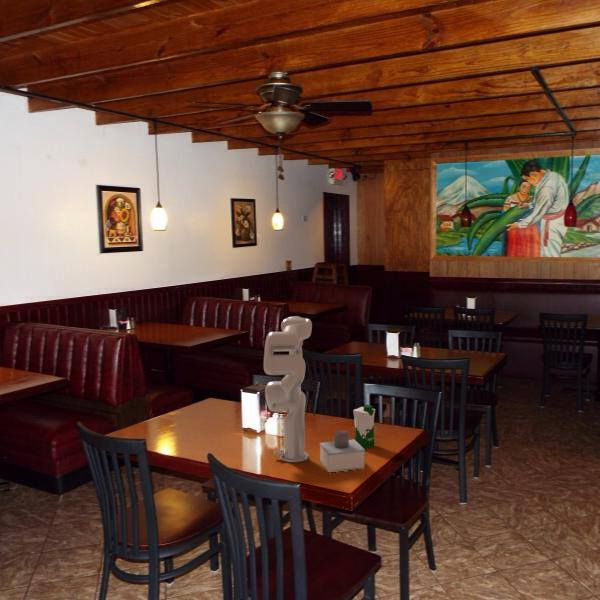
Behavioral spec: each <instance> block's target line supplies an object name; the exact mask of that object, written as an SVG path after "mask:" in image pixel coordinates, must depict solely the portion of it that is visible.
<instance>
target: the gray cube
mask: <svg viewBox="0 0 600 600" xmlns="http://www.w3.org/2000/svg"><path fill="white" fill-rule="evenodd" d="M333 432H334V433H333V441H334V447H336V448H340V449H344V448H348V447H349V440H350V437H349V431H347V430H336V431H333Z"/></svg>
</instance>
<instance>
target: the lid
mask: <svg viewBox="0 0 600 600" xmlns="http://www.w3.org/2000/svg"><path fill="white" fill-rule="evenodd" d="M318 445H319V447H320V446H321V447H322V448H323V449H324V451H325V452H326V453H327V454H328V455H337V454H347V453H356V452H364V453H365V451H366V449H364V448H363V447H362V446H361V445H359V444H358V443H357V442H356V441H355V438H354V439H353V438H352V439H349V447H348V448H344V449H340V448H336V447H334V440H333V441H324V442H319V444H318Z"/></svg>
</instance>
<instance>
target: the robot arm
mask: <svg viewBox="0 0 600 600" xmlns="http://www.w3.org/2000/svg"><path fill="white" fill-rule="evenodd" d="M312 328H313V324H312V321H311V319H310V318H307V317H305V318H304V317H301V316H297V315H295V316H294V315H293V316H289V317H287V318H284V319H283V321H282V322H281V324H280V329H281V331H269V332H268V334H267V335H266V338H265V342H264V343H265V344H264V352H263V353H264V355H263V370H264V373H265V374H266V375H269V376H284V377H283V378H282V379H281V380H279V381H278V380H277V381H276V380H274V381H269V382H268V383H267V384H266V386H265V389H264V396H265V397H264V398H265V401H266V404H267V408H268V409H269V411H271V412H288V413H287V414H286V415H285V417H284V419H283V447H282V449H280V450H278V449H277V450H273V454H274V456H277V457H280V459H281V460H282V461H283V462H287V463H293V464H294V463H302V462H305V461H307V460H308V459H309V454H308V453H307V452H306V448H305V445H306V443H305V442H306V441H305V439H306V438H305V409H306V400H307V399H306V398H307V397H306V394H305V393H304V392H303V391H302V388H301V387H302V386H301V385H302V384H303V381H304V379H305V375H306V361H305V359H304V357H303V348H302V346H303V345H304V340H306V339H309V338H310V337H311V334H312V330H313V329H312ZM275 352H288V353H289V354H274V353H275Z"/></svg>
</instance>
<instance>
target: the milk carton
mask: <svg viewBox="0 0 600 600" xmlns="http://www.w3.org/2000/svg"><path fill="white" fill-rule="evenodd" d="M352 411H353V412H352V413H353V417H354V440H355V441H356V442H357V443H358V444H359V445H361V446H362V447H363V448H366V449H365V450H368V449H370V448H372V447H374V446H376V445H375V444H376V443H375V413H376V409H375V408H373V406H372V405H370V404H365V405H363V406H360V407H358V408H355V409H353V410H352ZM373 445H374V446H373ZM371 446H372V447H371ZM369 447H370V448H369ZM367 448H368V449H367Z"/></svg>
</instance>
